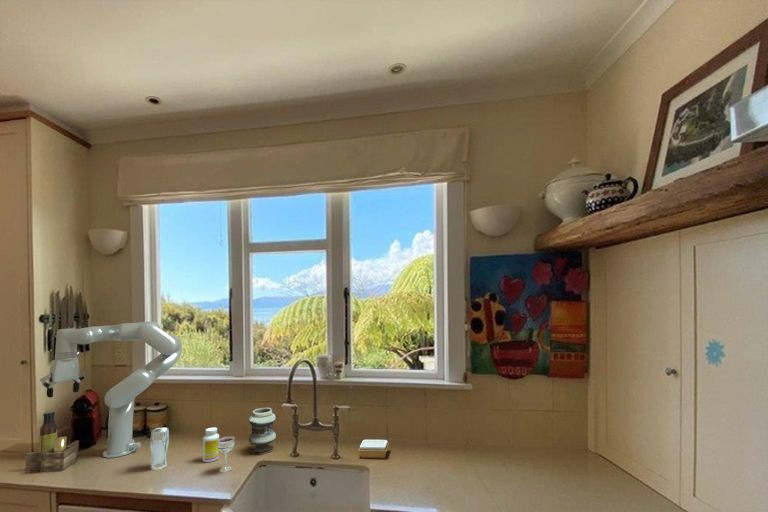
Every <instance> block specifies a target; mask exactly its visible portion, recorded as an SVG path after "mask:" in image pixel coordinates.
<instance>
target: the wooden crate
mask: <svg viewBox="0 0 768 512" xmlns="http://www.w3.org/2000/svg"><path fill="white" fill-rule="evenodd" d="M79 443H80V440H74V441H73V442H71V443H69V444H68V445H67V444H66V450H65V451H63V452H54V448H53V449H51V450H49V451H44V452H39V451H34V452H27V453H26V455H25V456H26V457H25V465H24V467H25V469H24V470H25V472H26V471H27V472H28V471H29V472H30V471H38V470H40V472H39V473H42V474H43V473H51V472H53V473H54V472H55V473H56V472H64V471H65V470H67V469H68V468H69V467H71V466H72V465H74V464H76V461H77V457H78V456H79V447H80V444H79Z"/></svg>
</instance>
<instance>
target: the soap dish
mask: <svg viewBox="0 0 768 512" xmlns="http://www.w3.org/2000/svg"><path fill="white" fill-rule="evenodd" d="M389 445H390V442H388V440H387V439H363V440H362V442H361V444H360V445H359V448H358V453H359V455H360V458H365V459H366V458H370V459H371V458H372V459H373V458H374V459H385V458H386V455H387V452H388V448H389Z"/></svg>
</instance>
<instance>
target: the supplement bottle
mask: <svg viewBox="0 0 768 512" xmlns="http://www.w3.org/2000/svg"><path fill="white" fill-rule="evenodd" d="M218 439H220V434H219V433H218V428H217V427H209V428H205V435H204V436H203V437H202V459H201V460H202V461H203V462H204V463H212V462H214V461H217V460H218V459H219V458H220V451H219V450H218V447H217V445H218Z"/></svg>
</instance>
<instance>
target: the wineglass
mask: <svg viewBox="0 0 768 512" xmlns="http://www.w3.org/2000/svg"><path fill="white" fill-rule="evenodd" d="M235 439H236V437H235V436H233V435H229V436H227V435H226V436H222V437H219V439H218V445H217V447H218V450H219V452H221V453H223V454H224V465H225V466H224V467H221V468H219V470H218V471H219V472H220V473H227V472H229V471H231V470H232V469H233V468H232V467H231V466H227V459H228V453H229V452H230V451H232V450H233V449H234V448H235V445H236V442H235Z"/></svg>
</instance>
